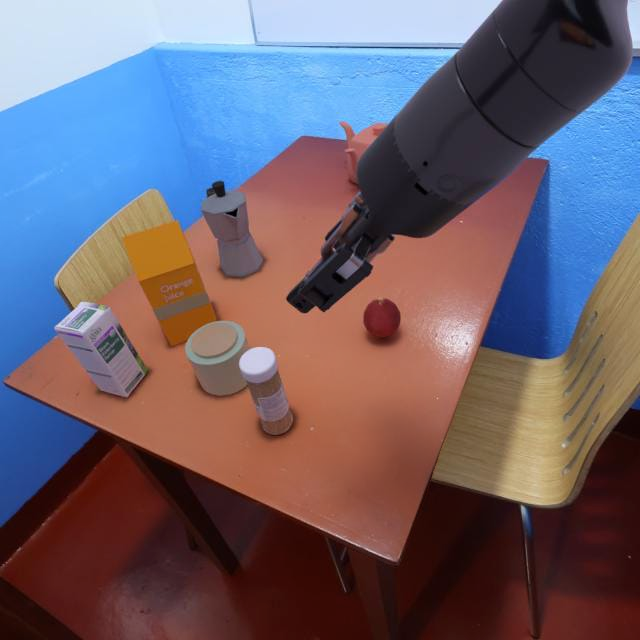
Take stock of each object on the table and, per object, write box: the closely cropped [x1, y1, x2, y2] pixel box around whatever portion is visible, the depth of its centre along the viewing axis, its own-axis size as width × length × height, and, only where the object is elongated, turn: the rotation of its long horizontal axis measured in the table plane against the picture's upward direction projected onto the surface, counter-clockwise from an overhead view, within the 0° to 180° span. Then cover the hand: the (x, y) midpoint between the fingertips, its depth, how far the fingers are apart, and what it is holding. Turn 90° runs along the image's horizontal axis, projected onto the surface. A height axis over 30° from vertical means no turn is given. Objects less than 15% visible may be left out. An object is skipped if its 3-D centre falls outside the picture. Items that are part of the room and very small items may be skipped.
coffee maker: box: [200, 180, 264, 279], centre depth 90 cm, size 15×9×18 cm, turn 31°
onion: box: [362, 297, 402, 338], centre depth 73 cm, size 6×6×8 cm
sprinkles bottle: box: [239, 346, 294, 436], centre depth 62 cm, size 5×5×13 cm
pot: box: [338, 121, 389, 185], centre depth 111 cm, size 18×17×12 cm
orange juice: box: [121, 219, 218, 347], centre depth 77 cm, size 8×9×20 cm
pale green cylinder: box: [184, 320, 251, 397], centre depth 72 cm, size 9×9×8 cm
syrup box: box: [53, 301, 149, 398], centre depth 71 cm, size 6×6×14 cm
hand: (315, 272), depth 42 cm, fingers open, 8 cm apart
